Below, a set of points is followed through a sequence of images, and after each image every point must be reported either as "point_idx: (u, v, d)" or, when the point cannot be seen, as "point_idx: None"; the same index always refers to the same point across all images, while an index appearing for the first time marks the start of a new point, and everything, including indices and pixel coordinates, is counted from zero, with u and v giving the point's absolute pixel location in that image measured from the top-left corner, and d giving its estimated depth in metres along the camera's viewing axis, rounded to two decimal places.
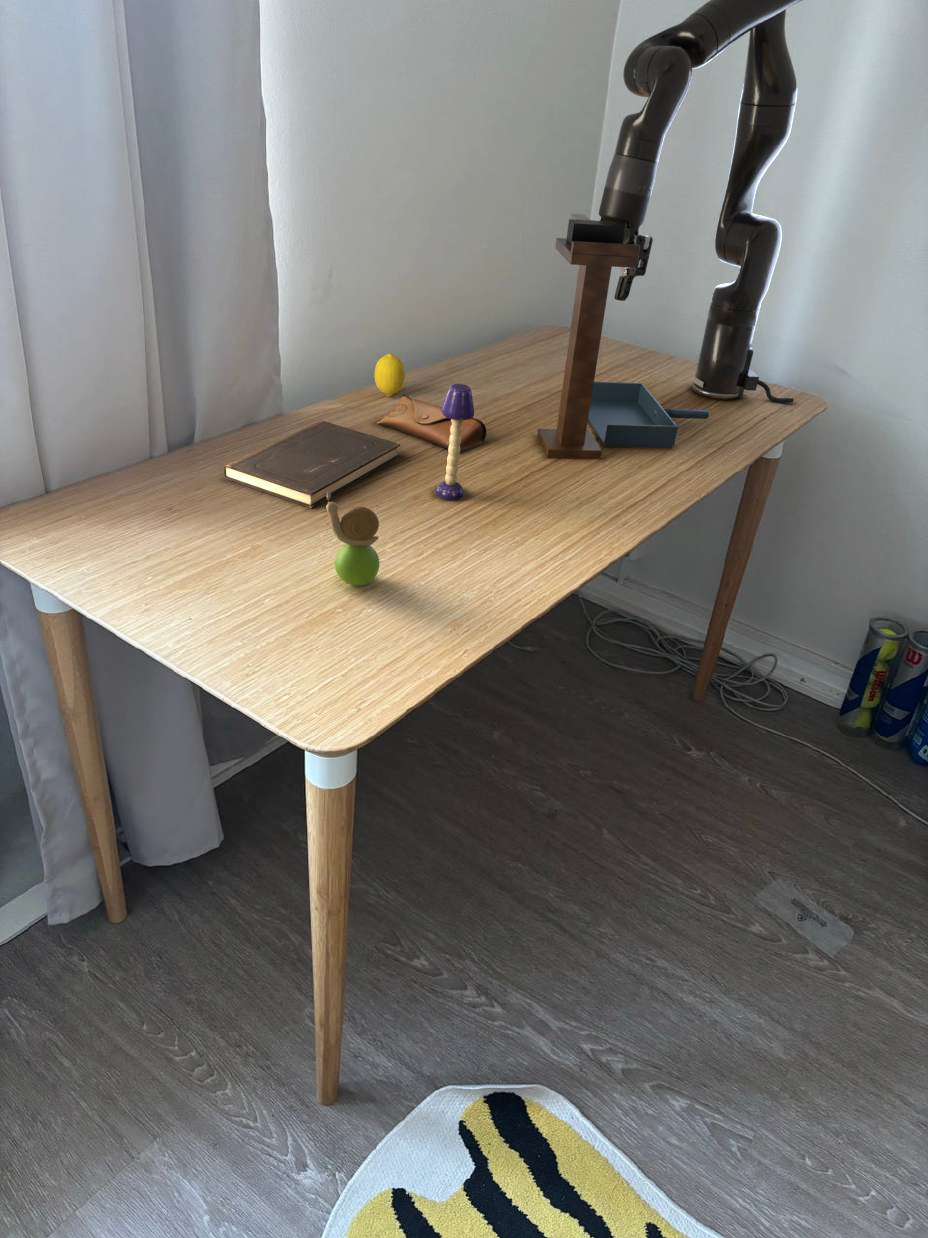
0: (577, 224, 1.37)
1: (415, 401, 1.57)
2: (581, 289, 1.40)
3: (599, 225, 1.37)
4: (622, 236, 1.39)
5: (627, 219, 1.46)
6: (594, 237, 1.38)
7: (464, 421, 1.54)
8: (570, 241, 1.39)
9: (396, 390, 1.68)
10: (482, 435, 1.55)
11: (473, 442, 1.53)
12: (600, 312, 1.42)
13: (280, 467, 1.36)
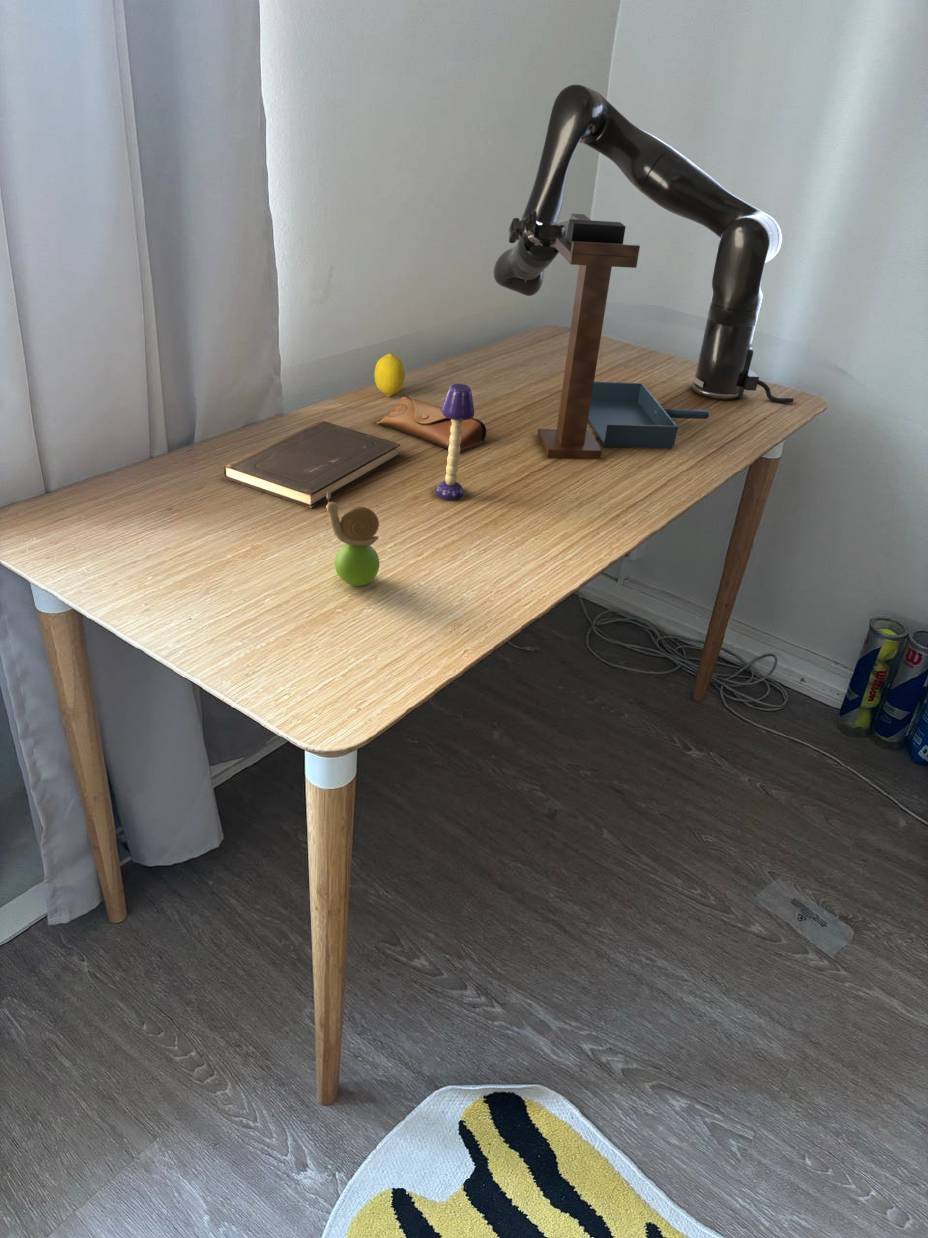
0: (577, 224, 1.37)
1: (415, 401, 1.57)
2: (581, 289, 1.40)
3: (599, 225, 1.37)
4: (622, 236, 1.39)
5: (525, 250, 1.74)
6: (594, 237, 1.38)
7: (464, 421, 1.53)
8: (570, 241, 1.39)
9: (396, 390, 1.68)
10: (482, 435, 1.55)
11: (473, 442, 1.53)
12: (600, 312, 1.42)
13: (280, 467, 1.36)
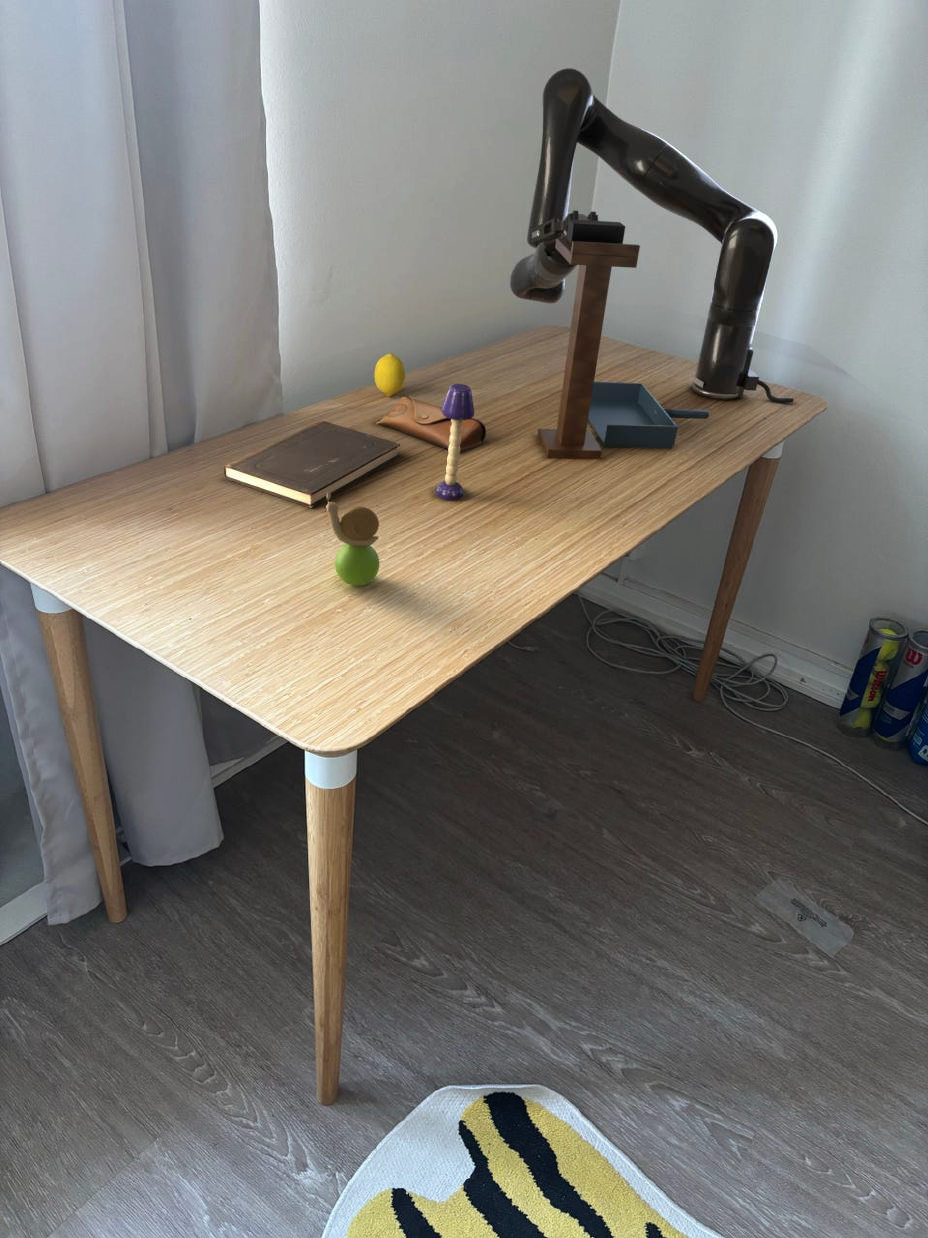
0: (577, 224, 1.37)
1: (415, 401, 1.57)
2: (581, 289, 1.40)
3: (599, 225, 1.37)
4: (622, 236, 1.39)
5: (545, 255, 1.58)
6: (593, 237, 1.38)
7: (464, 421, 1.53)
8: (570, 241, 1.39)
9: (396, 390, 1.68)
10: (481, 436, 1.55)
11: (472, 442, 1.53)
12: (600, 312, 1.42)
13: (280, 467, 1.36)
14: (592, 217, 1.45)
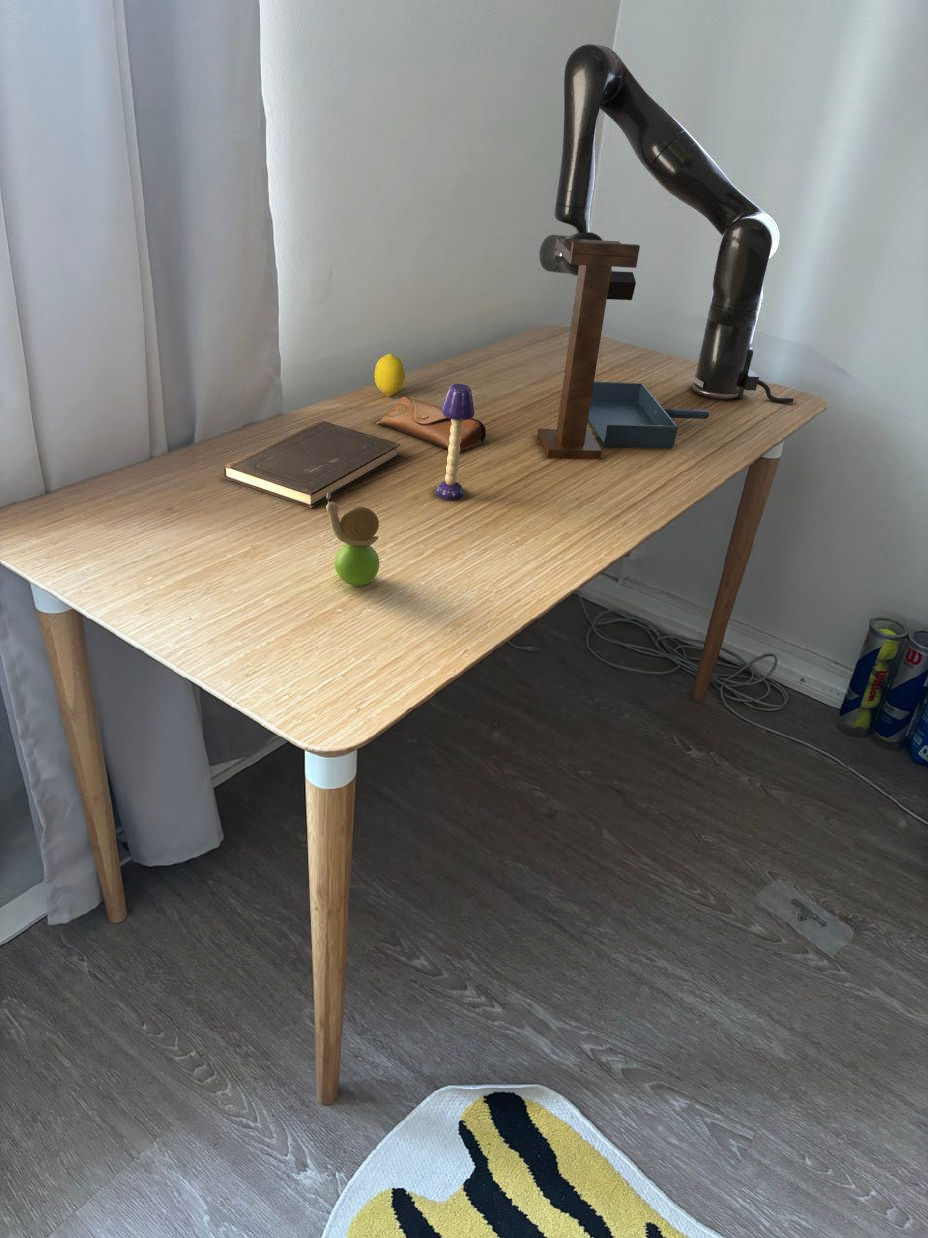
0: None
1: (415, 401, 1.57)
2: (581, 289, 1.40)
3: (611, 282, 1.49)
4: (632, 290, 1.50)
5: (568, 264, 1.68)
6: None
7: (463, 421, 1.53)
8: None
9: (396, 390, 1.68)
10: (481, 436, 1.55)
11: (472, 442, 1.53)
12: (600, 312, 1.42)
13: (280, 467, 1.36)
14: None
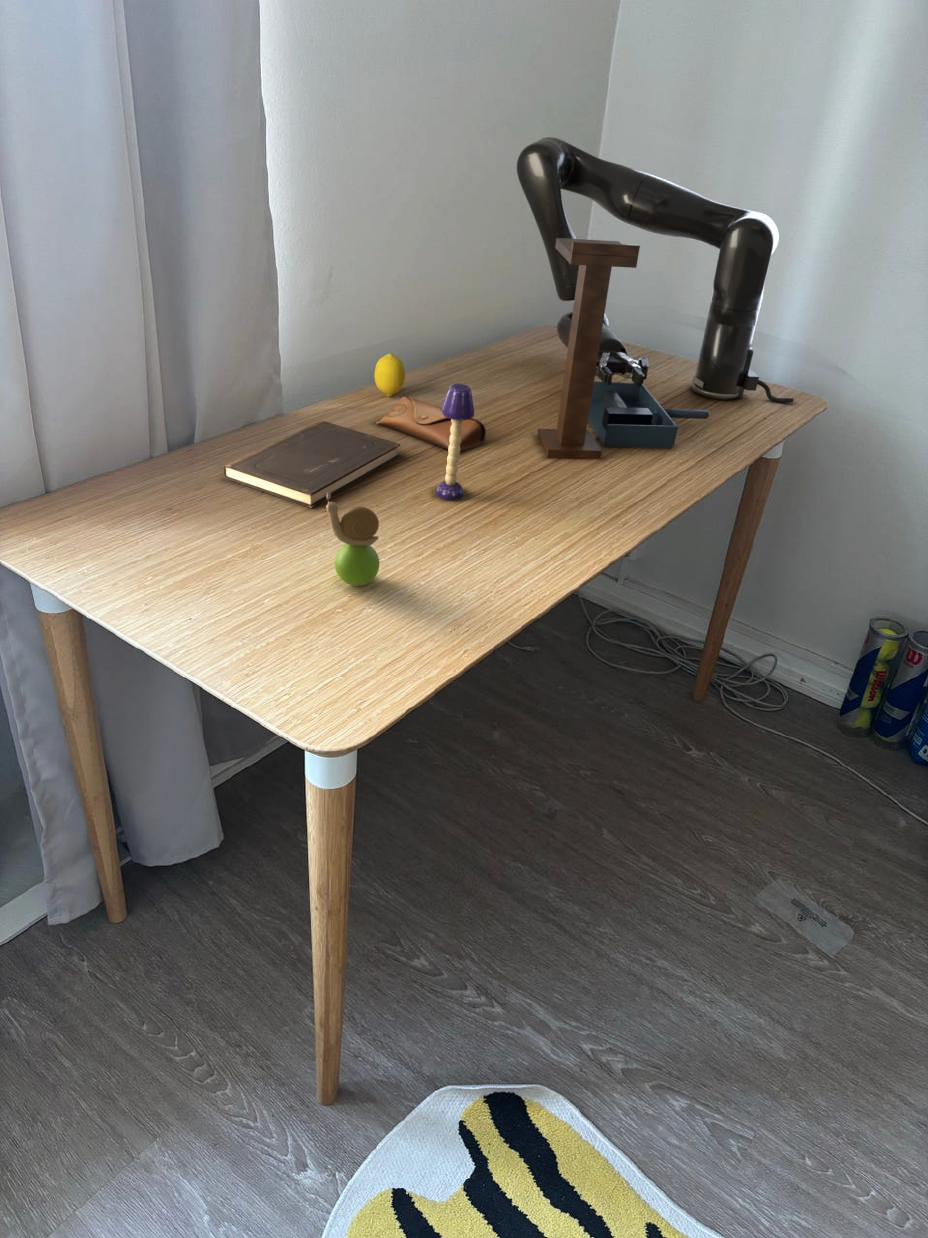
0: (612, 414, 1.61)
1: (415, 401, 1.57)
2: (581, 289, 1.40)
3: (630, 414, 1.62)
4: (650, 422, 1.63)
5: None
6: (626, 423, 1.63)
7: (463, 421, 1.53)
8: (606, 426, 1.63)
9: (396, 390, 1.68)
10: (481, 436, 1.55)
11: (472, 442, 1.53)
12: (600, 312, 1.42)
13: (280, 467, 1.36)
14: (638, 380, 1.66)
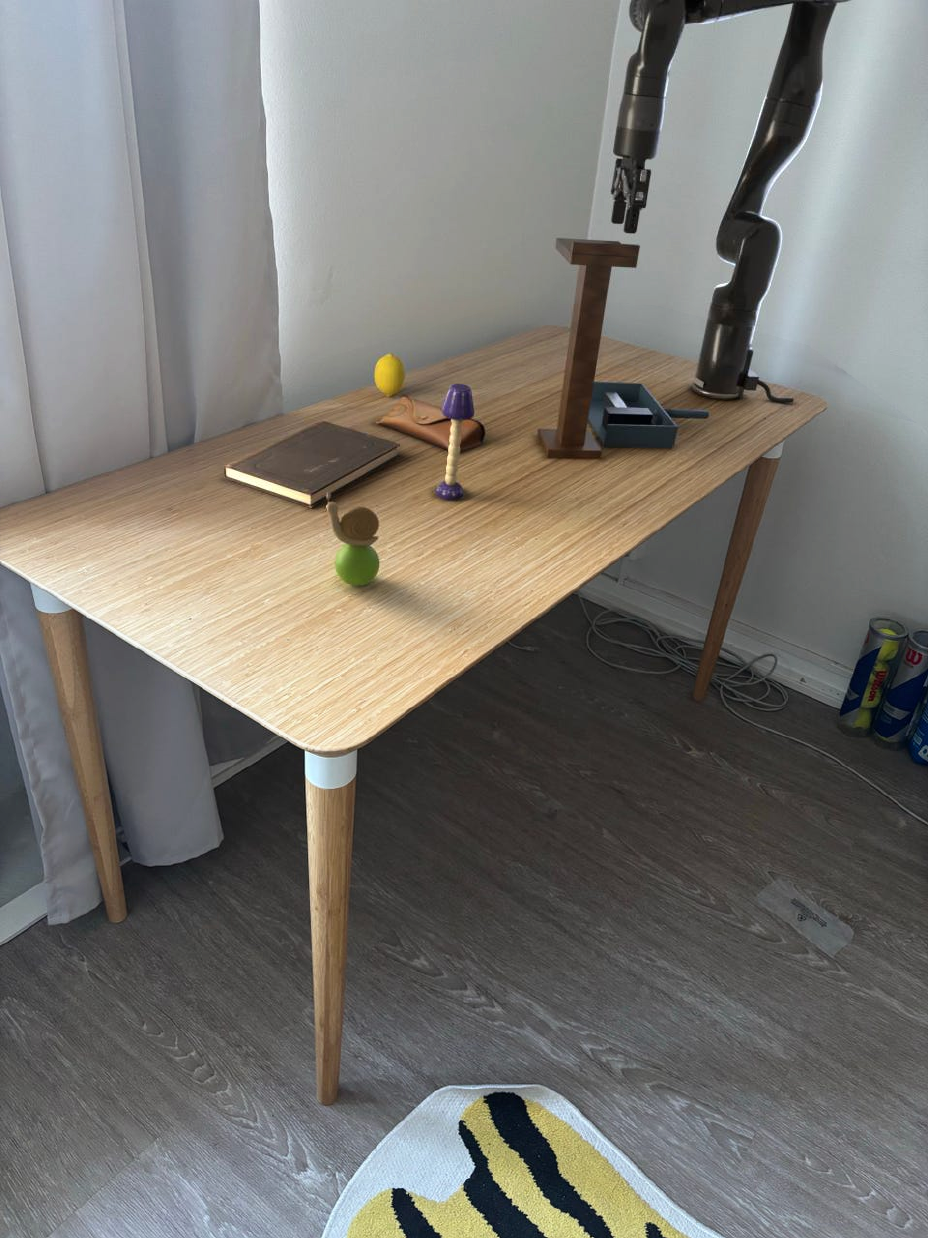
0: (612, 414, 1.61)
1: (414, 401, 1.57)
2: (581, 289, 1.40)
3: (630, 414, 1.62)
4: (650, 422, 1.63)
5: (629, 154, 1.55)
6: (626, 423, 1.63)
7: (463, 422, 1.53)
8: (606, 426, 1.63)
9: (396, 390, 1.68)
10: (481, 436, 1.54)
11: (471, 442, 1.53)
12: (600, 312, 1.42)
13: (280, 467, 1.36)
14: (617, 223, 1.68)
